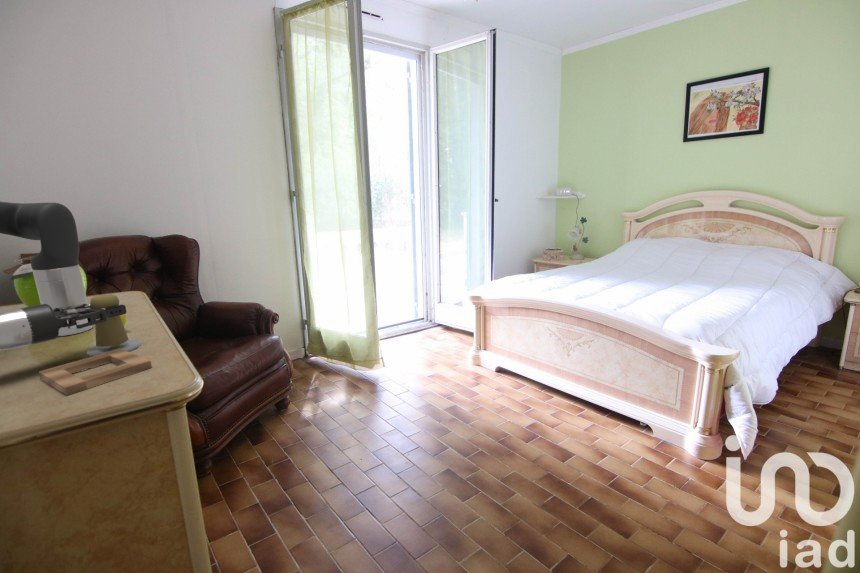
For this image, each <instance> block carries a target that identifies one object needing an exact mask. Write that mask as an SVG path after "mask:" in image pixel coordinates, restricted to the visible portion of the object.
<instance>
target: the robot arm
mask: <svg viewBox="0 0 860 573" xmlns="http://www.w3.org/2000/svg"><path fill="white" fill-rule="evenodd" d="M0 234H1V235H6V236H13V237H18V238H22V239H26V240H31V241H40V251H39V252H38V253H37V254H36V255H34V256H33V257H31V258H30V265H31V270H32V273H33V279H34V282H35V286H36V291H37V294H38V299H39V303H40V304H37V305H36V304H35V305H31V306H26V307H19V308H13V309H8V310H3V311H0V351H7V350H13V349H18V348H22V347H27V346H31V345H35V344H39V343H43V342H48V341H53V340H56V339H57V338H58V337H65V336H70V335H71V336H72V335H75V334H80V333H83V332H87V331H88V330H91V329H92V328H93V326H94V325H95V324H98V323H102V322H106V321H108V318H110V317H114V316H119V315H124V314H125V315H126V314H127V308H126V304H119V305H116V306H112V307H106V308H99V309H92V308H91V306H90V303H89V304H88V299H87V295H86V290H85V286H84V280H83V275H82V272H81V269H80V268H81V267H80V264H79V263H80V262H79V255H80V248H81V247H80V241H79V236H78V229H77V223H76V220H75V218H74V215H73V213H72V211H71V210H70V209H69V208H68V207H67V206H66V205H63V204H62V203H59V202H29V203H27V202H26V203H19V202H17V203H16V202H7V201H0ZM97 314H100V317H98V318H96V315H97Z"/></svg>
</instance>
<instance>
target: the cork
mask: <svg viewBox="0 0 860 573" xmlns="http://www.w3.org/2000/svg"><path fill="white" fill-rule="evenodd" d="M89 304H90V306H91V308H92V309H99V308H106V307H112V306H116V305H120V299H119V297H118V296H117V295H116V294H113V293H112V294H111V293H106V294H104V293H103V294H99V295H95V296H93V297H92V298H90V303H89ZM98 317H100V314H97V315H96V318H98ZM94 325H95V327H94V330H95V346H99V347H105V346H113V345H117V344H121V343H124V342H126V341H128V339H129V337H128V335H127V331H126V329H125V326H123V323H122V320H121V317H120V315H119V316H114V317H110V318H108V321H106V322H102V323H98V324H94Z"/></svg>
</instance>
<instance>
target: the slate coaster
mask: <svg viewBox="0 0 860 573" xmlns="http://www.w3.org/2000/svg"><path fill="white" fill-rule="evenodd" d="M141 344H142V343H141V340H140V339H137V338H128V341H126V342H124V343H121V344H117V345H113V346H105V347H99V346H96V345H95V346H92V347H90V348H89V349H88V350H87V351H86V354H87V356H88V357H90V356H91V357H92V356H96V355H100V354H103V353H107V352H110V351H114V350H117V349H122V350H125V351H127V352H131V351H134V350H136V349H138V348H139V347H140V346H142V345H141Z"/></svg>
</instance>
